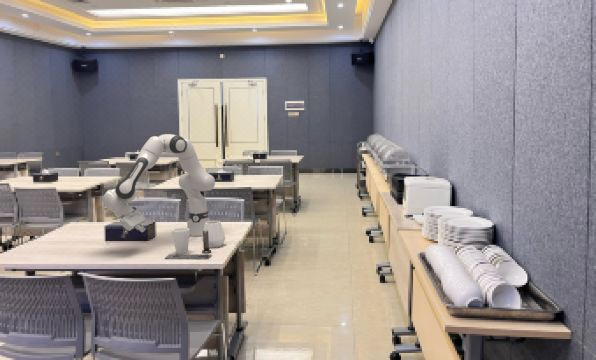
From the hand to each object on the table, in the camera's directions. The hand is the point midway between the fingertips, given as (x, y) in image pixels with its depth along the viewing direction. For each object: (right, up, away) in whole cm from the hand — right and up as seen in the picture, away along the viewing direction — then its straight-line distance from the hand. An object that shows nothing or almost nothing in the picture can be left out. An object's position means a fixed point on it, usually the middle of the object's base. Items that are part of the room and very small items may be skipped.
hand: (144, 230), depth 292 cm
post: (+35, -12, -3) cm, 37 cm away
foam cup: (+22, -12, -2) cm, 25 cm away
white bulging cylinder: (+37, -10, +12) cm, 40 cm away
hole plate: (+27, -13, -12) cm, 32 cm away
